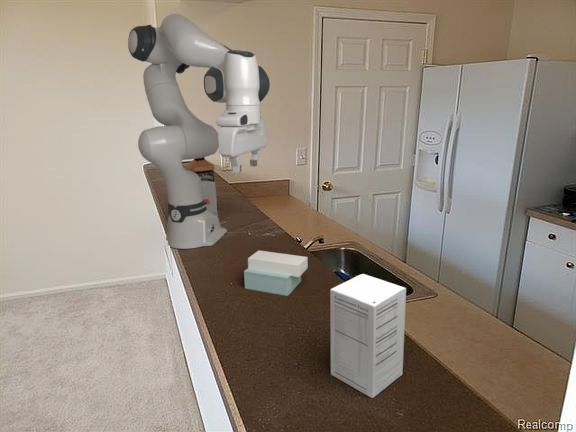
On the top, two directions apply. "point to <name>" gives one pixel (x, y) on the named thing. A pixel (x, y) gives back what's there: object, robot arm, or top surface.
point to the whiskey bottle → (202, 169)
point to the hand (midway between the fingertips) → (246, 169)
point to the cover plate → (278, 263)
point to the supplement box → (367, 333)
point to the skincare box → (210, 195)
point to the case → (270, 282)
